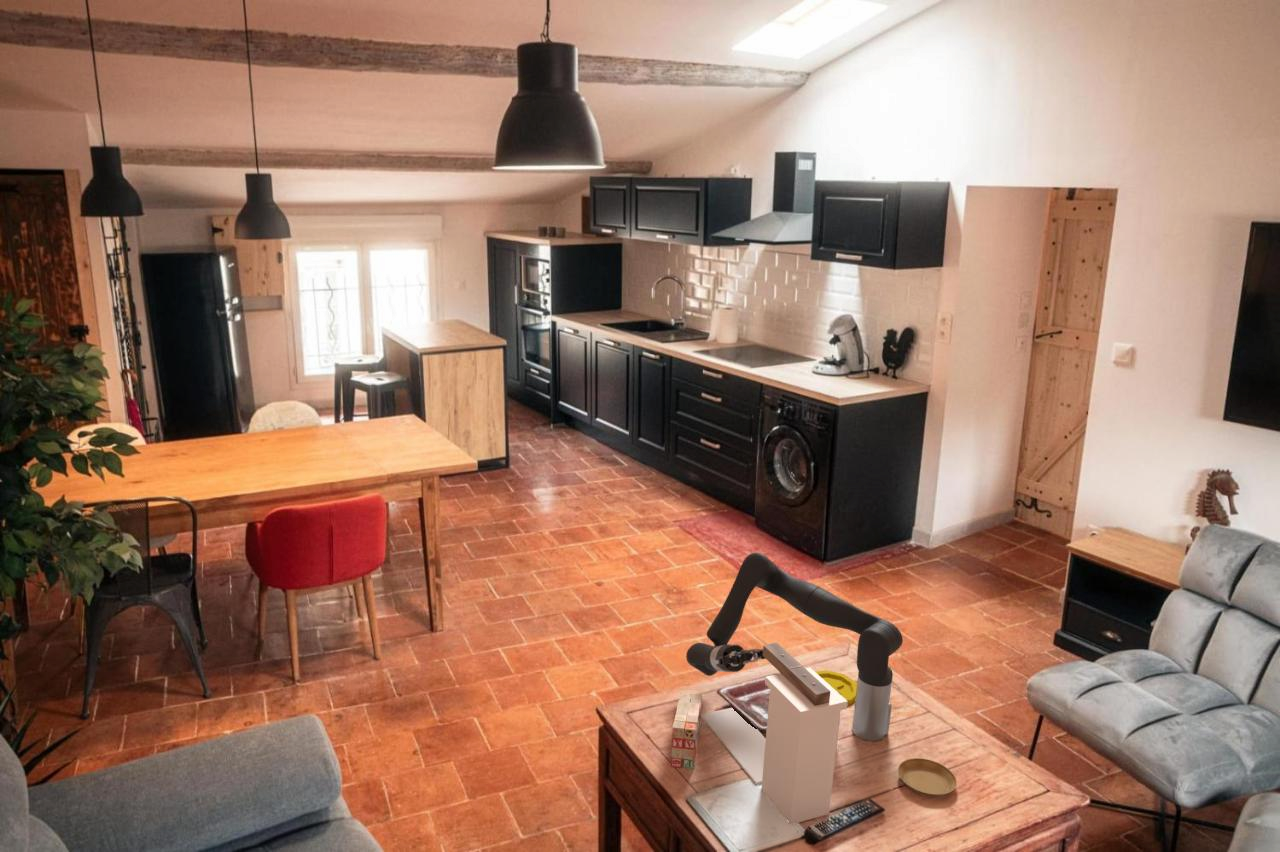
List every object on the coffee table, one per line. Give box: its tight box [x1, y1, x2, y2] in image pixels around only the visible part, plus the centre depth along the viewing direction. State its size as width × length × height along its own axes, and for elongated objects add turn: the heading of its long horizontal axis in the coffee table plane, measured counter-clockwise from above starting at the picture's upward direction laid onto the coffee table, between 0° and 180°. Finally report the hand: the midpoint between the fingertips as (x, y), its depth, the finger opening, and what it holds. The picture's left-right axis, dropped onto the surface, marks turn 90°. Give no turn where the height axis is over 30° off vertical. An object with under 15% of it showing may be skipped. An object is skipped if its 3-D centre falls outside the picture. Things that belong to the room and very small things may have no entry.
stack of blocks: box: [670, 692, 703, 770], centre depth 244 cm, size 21×6×12 cm, turn 171°
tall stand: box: [761, 667, 848, 825], centre depth 220 cm, size 13×16×32 cm
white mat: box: [701, 707, 766, 785], centre depth 246 cm, size 12×32×1 cm, turn 23°
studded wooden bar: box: [762, 642, 830, 706], centre depth 220 cm, size 4×24×3 cm, turn 23°
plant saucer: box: [897, 757, 958, 798], centre depth 233 cm, size 15×15×3 cm
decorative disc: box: [814, 669, 857, 706], centre depth 274 cm, size 17×18×2 cm
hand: (754, 656), depth 238 cm, fingers open, 8 cm apart
